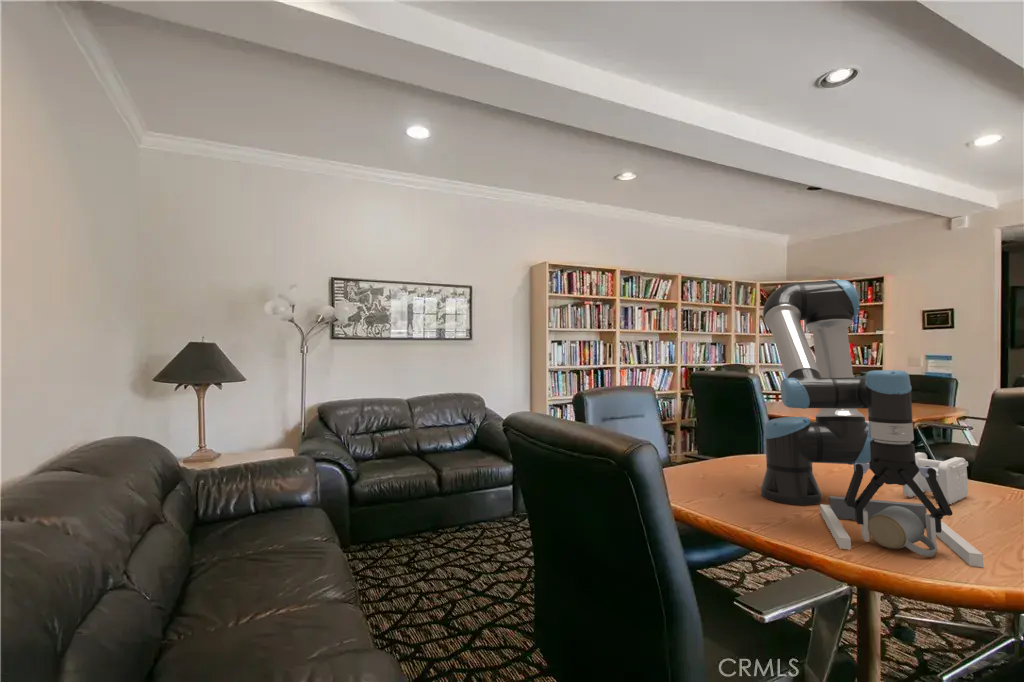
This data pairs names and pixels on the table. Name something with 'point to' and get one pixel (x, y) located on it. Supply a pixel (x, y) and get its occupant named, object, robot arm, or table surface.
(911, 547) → the ceramic mug
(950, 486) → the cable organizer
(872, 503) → the guide track
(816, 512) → the table surface
